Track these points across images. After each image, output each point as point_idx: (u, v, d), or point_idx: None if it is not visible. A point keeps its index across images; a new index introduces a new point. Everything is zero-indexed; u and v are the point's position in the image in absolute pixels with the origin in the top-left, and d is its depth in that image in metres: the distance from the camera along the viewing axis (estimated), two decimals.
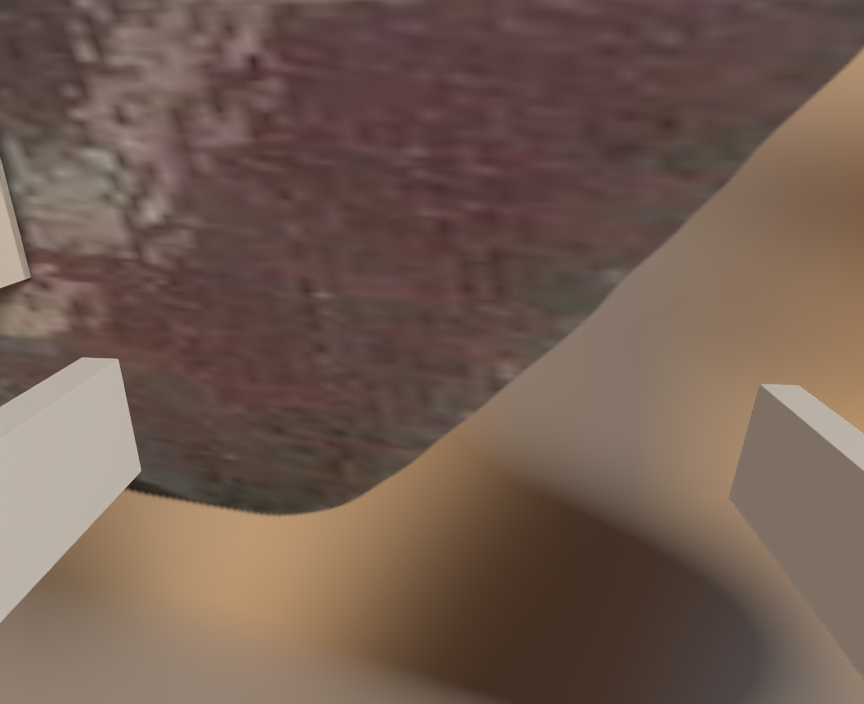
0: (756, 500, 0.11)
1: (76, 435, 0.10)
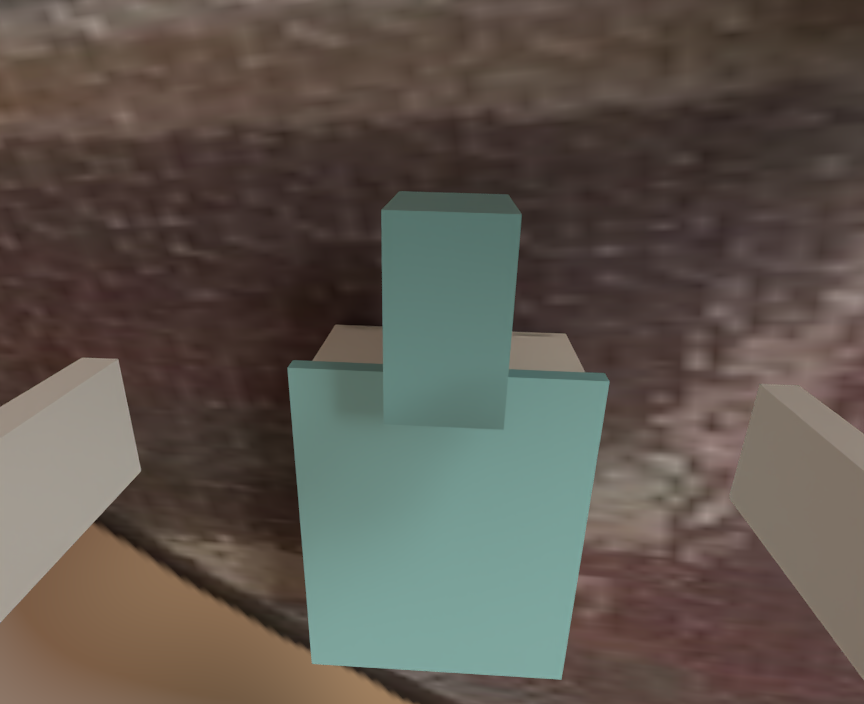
0: (756, 500, 0.11)
1: (76, 435, 0.10)
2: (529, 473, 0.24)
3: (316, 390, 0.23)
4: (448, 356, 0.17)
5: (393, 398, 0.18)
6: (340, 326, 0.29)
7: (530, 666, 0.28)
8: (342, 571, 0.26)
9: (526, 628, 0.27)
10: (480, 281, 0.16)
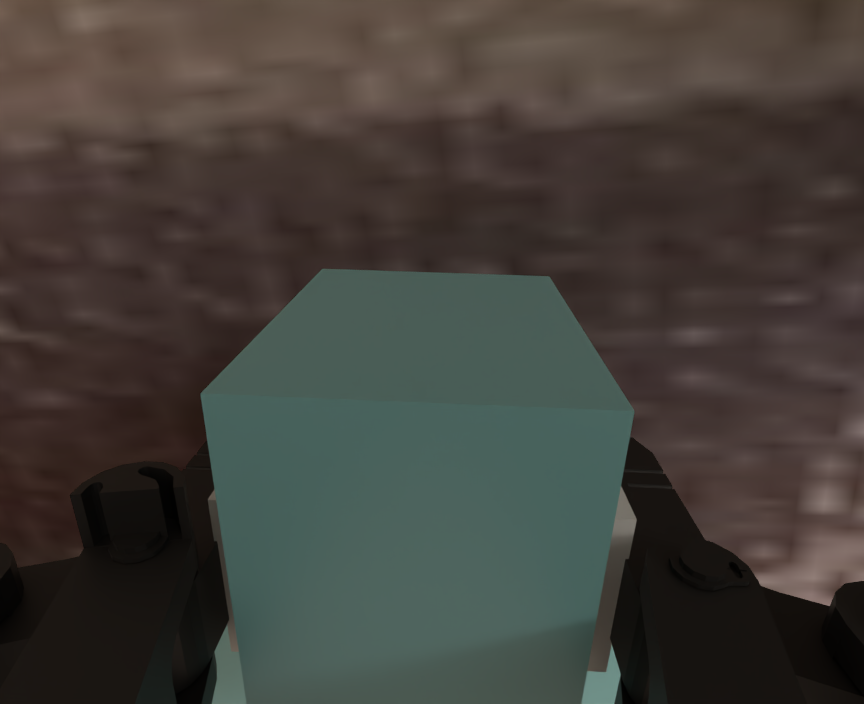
0: None
1: None
2: None
3: None
4: None
5: None
6: None
7: None
8: None
9: None
10: (502, 574, 0.06)
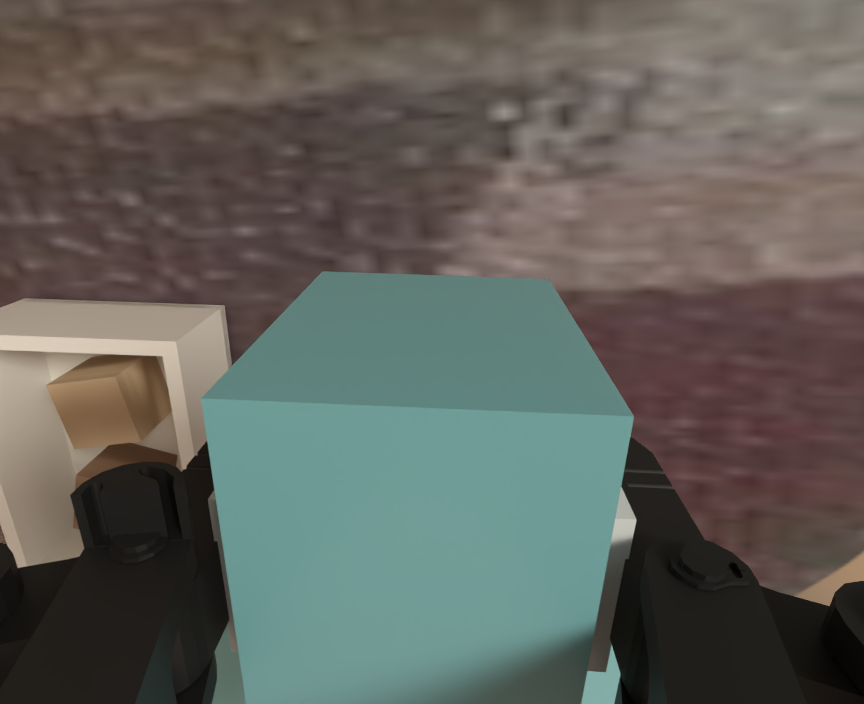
0: None
1: None
2: None
3: None
4: None
5: None
6: (26, 300, 0.32)
7: None
8: None
9: None
10: (501, 578, 0.06)
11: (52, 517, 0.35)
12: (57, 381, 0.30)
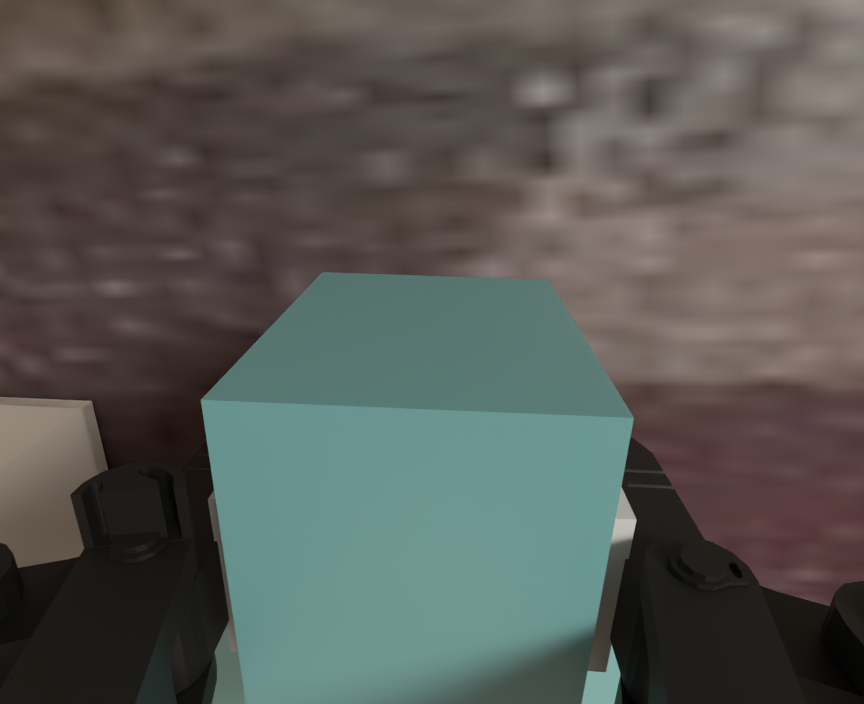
0: None
1: None
2: None
3: None
4: None
5: None
6: None
7: None
8: None
9: None
10: (501, 580, 0.06)
11: None
12: None
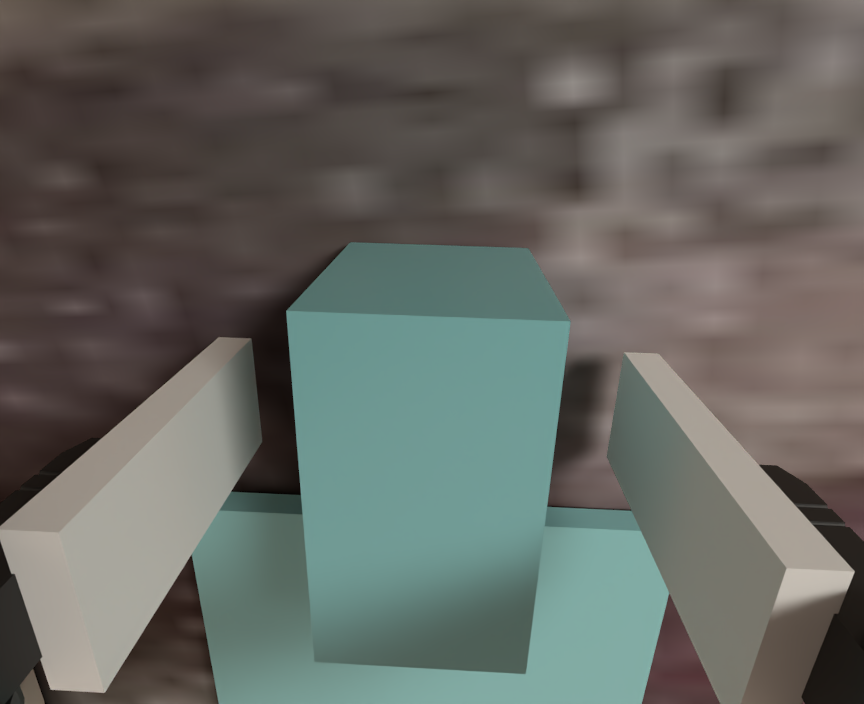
0: (620, 455, 0.12)
1: (228, 404, 0.11)
2: (556, 653, 0.16)
3: (230, 539, 0.15)
4: (426, 562, 0.09)
5: (329, 625, 0.10)
6: None
7: None
8: None
9: None
10: (485, 441, 0.08)
11: None
12: None
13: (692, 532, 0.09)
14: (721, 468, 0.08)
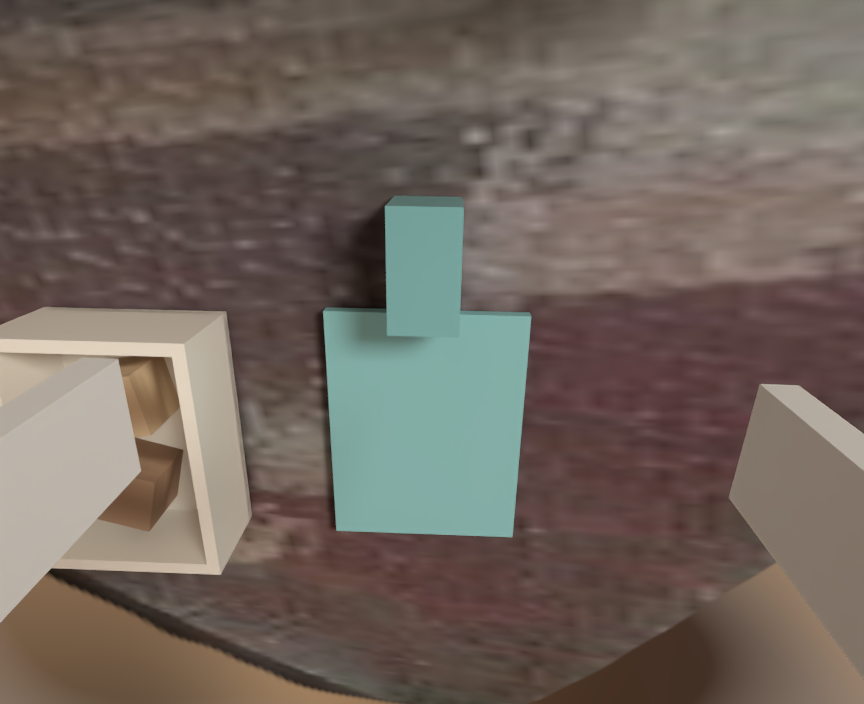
0: (756, 500, 0.11)
1: (76, 435, 0.10)
2: (483, 381, 0.36)
3: (341, 325, 0.35)
4: (424, 291, 0.29)
5: (392, 319, 0.30)
6: (46, 308, 0.36)
7: (490, 527, 0.40)
8: (358, 457, 0.38)
9: (485, 497, 0.39)
10: (442, 246, 0.28)
11: None
12: None
13: None
14: None
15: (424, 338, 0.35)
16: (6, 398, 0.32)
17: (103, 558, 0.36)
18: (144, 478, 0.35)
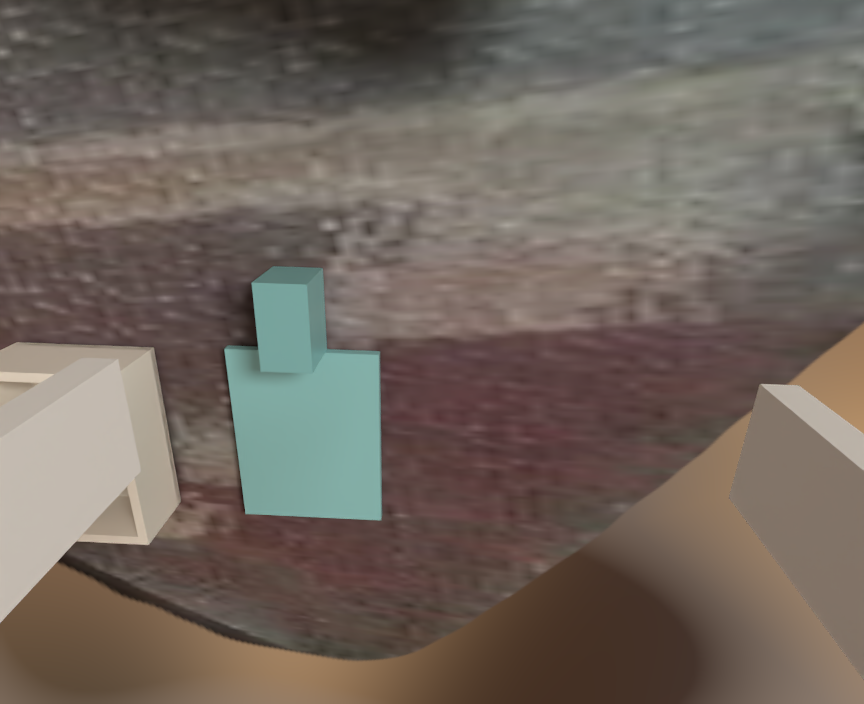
0: (756, 500, 0.11)
1: (76, 435, 0.10)
2: (347, 401, 0.47)
3: (239, 359, 0.46)
4: (285, 341, 0.41)
5: (263, 360, 0.42)
6: (18, 343, 0.47)
7: (363, 512, 0.52)
8: (258, 457, 0.50)
9: (357, 489, 0.51)
10: (294, 310, 0.40)
11: None
12: None
13: None
14: None
15: None
16: None
17: None
18: None
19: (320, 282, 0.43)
